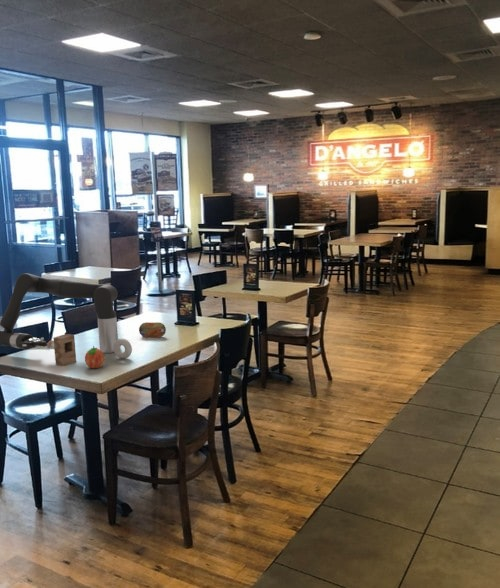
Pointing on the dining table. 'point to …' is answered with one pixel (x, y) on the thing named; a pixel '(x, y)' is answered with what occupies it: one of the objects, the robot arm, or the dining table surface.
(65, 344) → the peg
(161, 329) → the tin
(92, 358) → the fruit
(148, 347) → the dining table surface
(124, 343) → the donut
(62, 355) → the wooden block
